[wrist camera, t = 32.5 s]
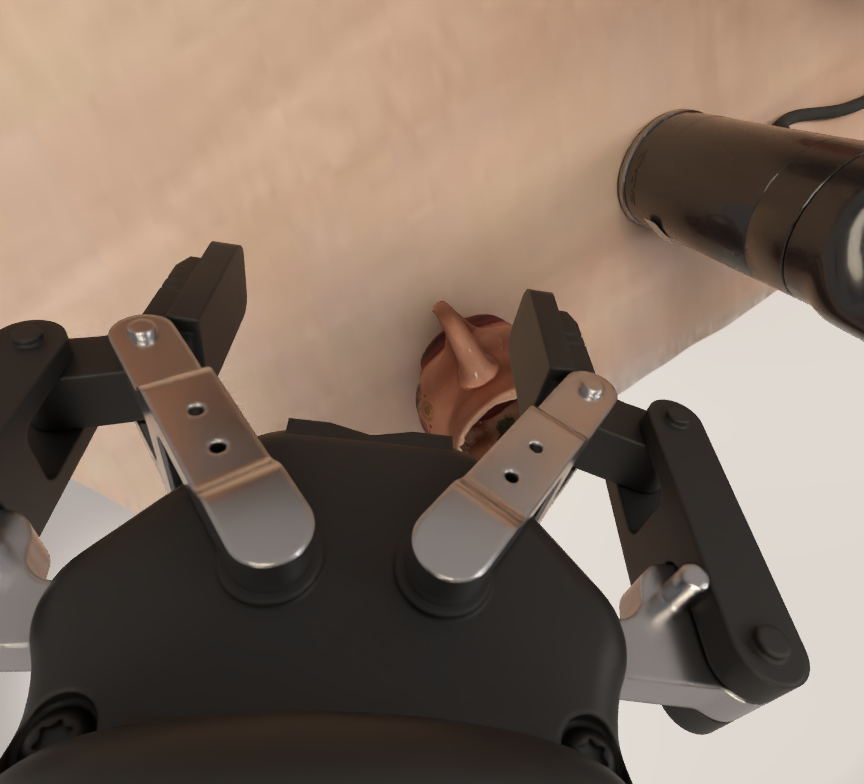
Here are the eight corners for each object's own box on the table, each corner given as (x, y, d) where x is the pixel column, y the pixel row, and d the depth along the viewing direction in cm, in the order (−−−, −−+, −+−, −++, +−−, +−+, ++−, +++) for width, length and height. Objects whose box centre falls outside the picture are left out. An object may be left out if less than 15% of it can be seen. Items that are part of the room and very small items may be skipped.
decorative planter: (341, 313, 44) (372, 407, 33) (459, 223, 42) (534, 288, 31) (458, 444, 56) (511, 545, 44) (554, 377, 54) (632, 464, 43)
